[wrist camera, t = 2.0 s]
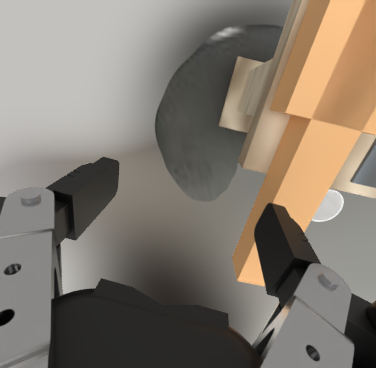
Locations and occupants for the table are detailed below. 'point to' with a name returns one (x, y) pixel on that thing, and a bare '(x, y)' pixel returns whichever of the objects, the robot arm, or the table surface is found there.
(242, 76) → the birch shelf stand
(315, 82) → the orange T-bar
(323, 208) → the dixie cup
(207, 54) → the table surface
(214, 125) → the table surface
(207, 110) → the table surface
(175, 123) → the table surface
